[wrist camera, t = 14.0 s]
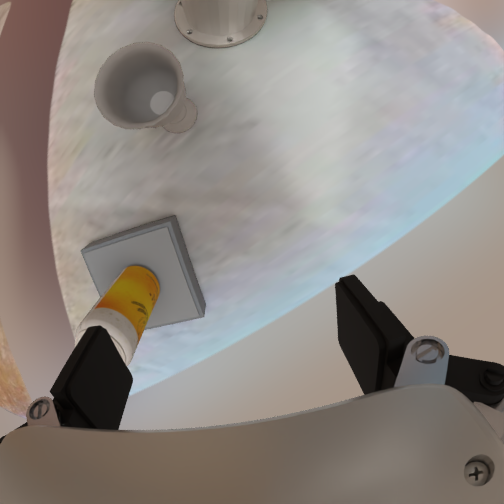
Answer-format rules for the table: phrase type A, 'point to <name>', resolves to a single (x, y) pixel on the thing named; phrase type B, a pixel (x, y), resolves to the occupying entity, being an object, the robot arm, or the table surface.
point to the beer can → (124, 309)
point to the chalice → (144, 89)
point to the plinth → (151, 268)
